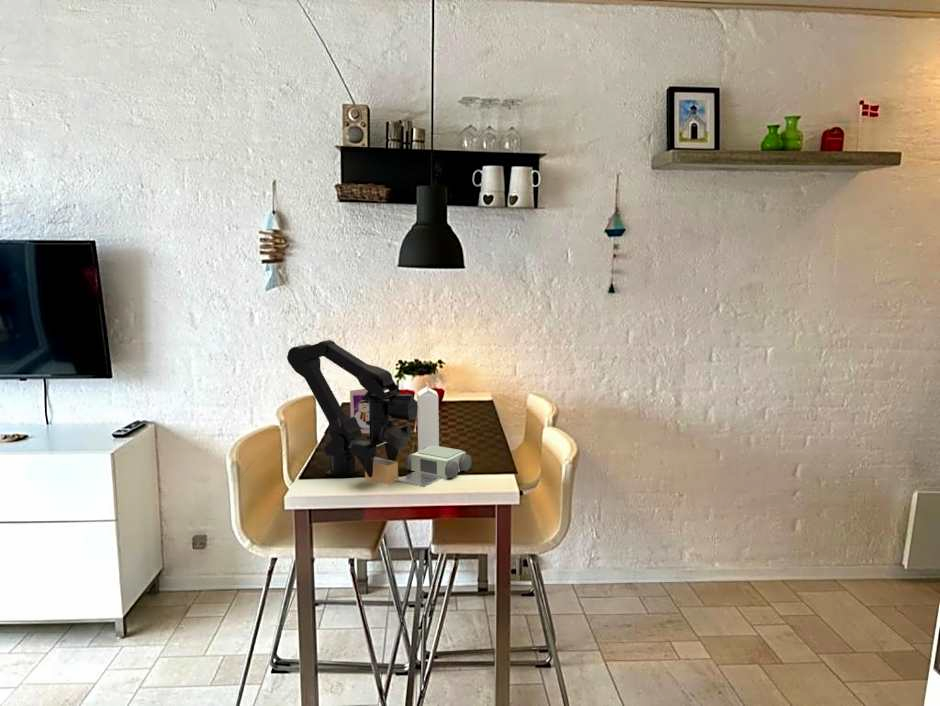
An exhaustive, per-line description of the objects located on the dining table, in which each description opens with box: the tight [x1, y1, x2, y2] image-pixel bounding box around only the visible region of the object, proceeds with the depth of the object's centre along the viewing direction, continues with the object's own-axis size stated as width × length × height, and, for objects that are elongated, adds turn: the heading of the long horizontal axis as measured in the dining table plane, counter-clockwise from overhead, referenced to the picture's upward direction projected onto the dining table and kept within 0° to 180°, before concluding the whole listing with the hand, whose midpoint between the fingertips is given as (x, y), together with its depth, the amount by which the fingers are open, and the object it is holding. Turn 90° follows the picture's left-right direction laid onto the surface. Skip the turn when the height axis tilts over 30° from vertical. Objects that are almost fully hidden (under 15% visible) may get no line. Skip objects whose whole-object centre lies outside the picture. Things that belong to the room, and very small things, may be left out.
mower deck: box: [405, 445, 472, 479], centre depth 191 cm, size 15×12×5 cm
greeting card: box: [349, 388, 370, 434], centre depth 233 cm, size 11×7×15 cm, turn 90°
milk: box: [416, 381, 440, 452], centre depth 206 cm, size 6×6×22 cm
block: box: [364, 456, 399, 484], centre depth 184 cm, size 8×4×5 cm, turn 56°
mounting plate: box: [396, 471, 443, 488], centre depth 184 cm, size 9×8×1 cm
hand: (381, 472), depth 184 cm, fingers open, 9 cm apart
